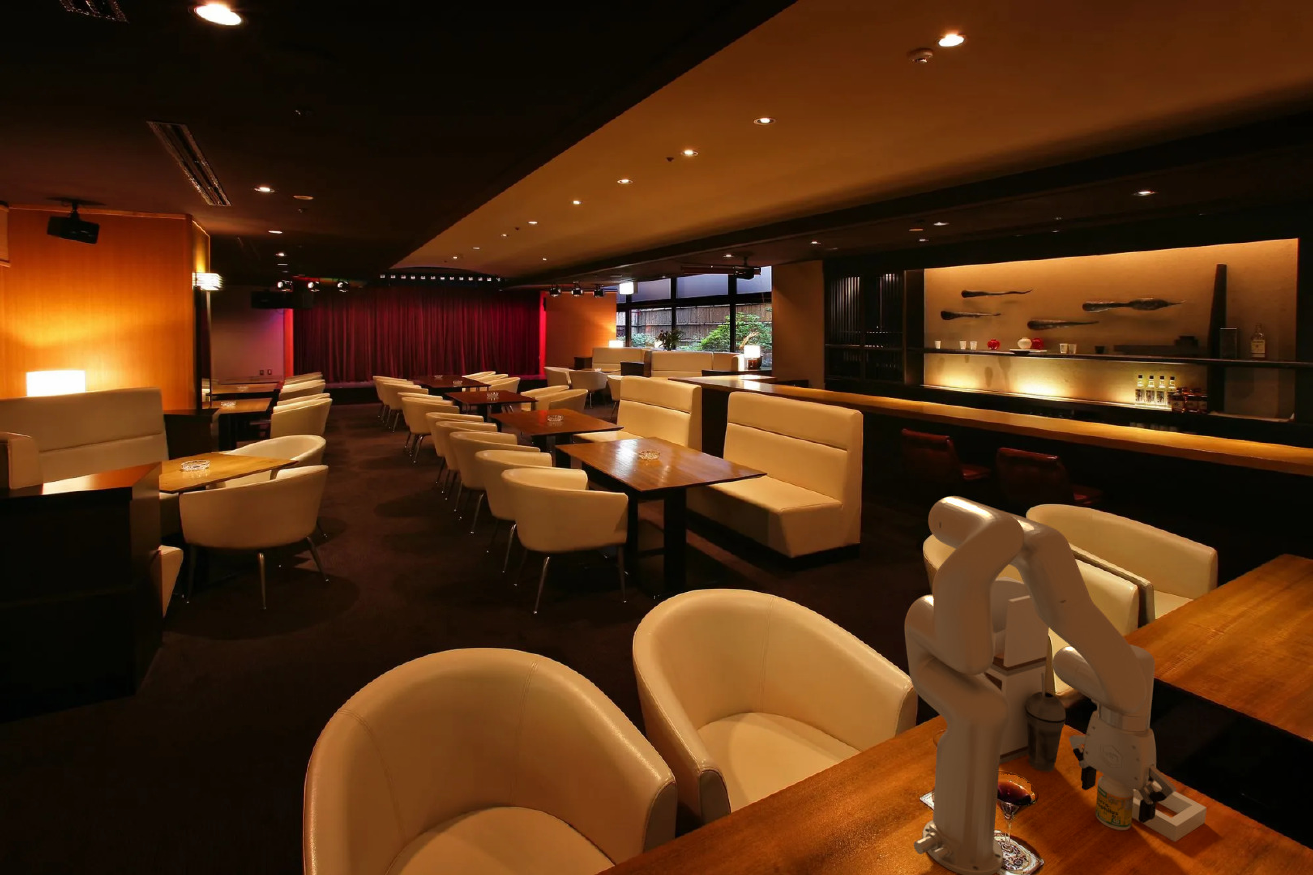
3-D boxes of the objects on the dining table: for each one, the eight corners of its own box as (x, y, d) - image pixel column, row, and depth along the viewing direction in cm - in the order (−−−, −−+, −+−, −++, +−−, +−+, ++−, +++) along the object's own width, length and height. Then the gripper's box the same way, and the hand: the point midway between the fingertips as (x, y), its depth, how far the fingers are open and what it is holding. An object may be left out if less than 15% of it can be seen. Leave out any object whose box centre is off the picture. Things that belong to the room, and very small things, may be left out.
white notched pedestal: (996, 724, 151) (1006, 576, 146) (1038, 750, 142) (1051, 592, 137) (958, 736, 147) (968, 583, 142) (1000, 763, 137) (1012, 601, 132)
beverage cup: (1069, 776, 133) (1077, 682, 130) (1032, 776, 133) (1040, 682, 131) (1049, 754, 140) (1056, 664, 138) (1014, 753, 141) (1020, 664, 138)
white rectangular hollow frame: (1174, 841, 116) (1176, 826, 115) (1113, 806, 125) (1115, 791, 124) (1204, 822, 120) (1206, 807, 120) (1143, 789, 129) (1145, 775, 129)
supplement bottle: (1137, 825, 120) (1142, 776, 118) (1118, 835, 117) (1123, 785, 116) (1106, 806, 125) (1111, 759, 123) (1088, 815, 122) (1092, 767, 121)
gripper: (1061, 697, 124) (1055, 782, 127) (1167, 747, 109) (1158, 841, 111) (1086, 687, 127) (1079, 769, 130) (1191, 733, 112) (1182, 825, 115)
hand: (1115, 802), depth 121 cm, fingers open, 9 cm apart
